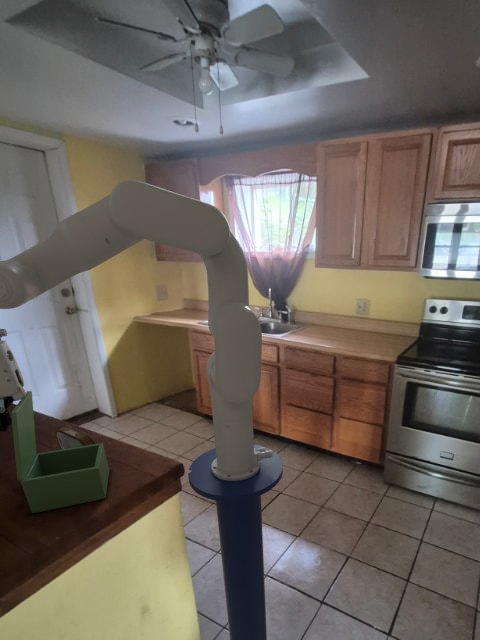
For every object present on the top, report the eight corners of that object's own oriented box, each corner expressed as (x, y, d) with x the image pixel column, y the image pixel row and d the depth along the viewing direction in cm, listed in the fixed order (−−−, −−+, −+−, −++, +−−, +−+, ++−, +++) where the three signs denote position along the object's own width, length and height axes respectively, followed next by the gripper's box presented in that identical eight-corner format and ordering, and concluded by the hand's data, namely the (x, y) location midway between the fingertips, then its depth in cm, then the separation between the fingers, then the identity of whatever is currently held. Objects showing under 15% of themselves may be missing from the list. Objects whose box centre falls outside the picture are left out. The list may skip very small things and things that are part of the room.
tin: (105, 465, 92) (97, 435, 88) (92, 471, 89) (85, 441, 86) (70, 449, 99) (63, 420, 95) (58, 454, 96) (50, 425, 93)
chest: (109, 470, 90) (103, 442, 87) (105, 498, 80) (98, 468, 77) (44, 482, 85) (34, 453, 82) (31, 513, 75) (20, 482, 72)
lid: (31, 391, 77) (27, 391, 77) (16, 412, 68) (10, 412, 67) (36, 451, 82) (32, 452, 82) (22, 479, 72) (17, 480, 72)
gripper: (26, 330, 71) (51, 415, 79) (-72, 335, 66) (-36, 426, 73) (15, 338, 65) (43, 431, 72) (-95, 346, 60) (-53, 444, 67)
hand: (3, 428), depth 73 cm, fingers closed
